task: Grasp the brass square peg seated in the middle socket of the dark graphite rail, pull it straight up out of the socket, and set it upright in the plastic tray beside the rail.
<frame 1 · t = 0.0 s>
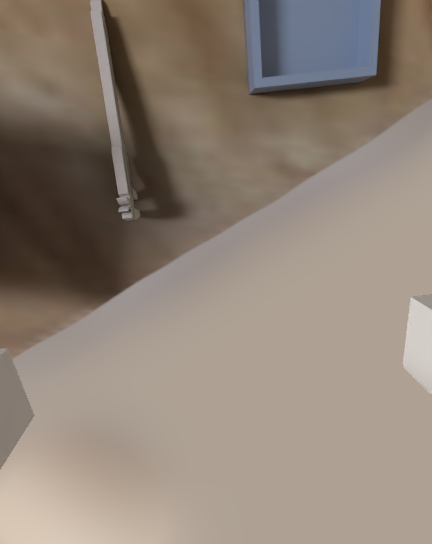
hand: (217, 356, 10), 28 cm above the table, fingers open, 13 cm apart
caliper: (119, 119, 33), on the table
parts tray: (304, 19, 31), on the table
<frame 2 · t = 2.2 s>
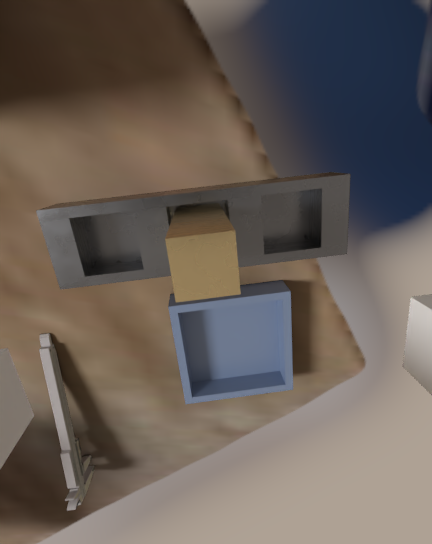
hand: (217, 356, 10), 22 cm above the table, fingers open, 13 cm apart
socket rail: (199, 224, 30), on the table
caliper: (71, 404, 37), on the table
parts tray: (231, 335, 35), on the table
brass peg: (200, 226, 29), point 1 cm above the table, touching socket rail
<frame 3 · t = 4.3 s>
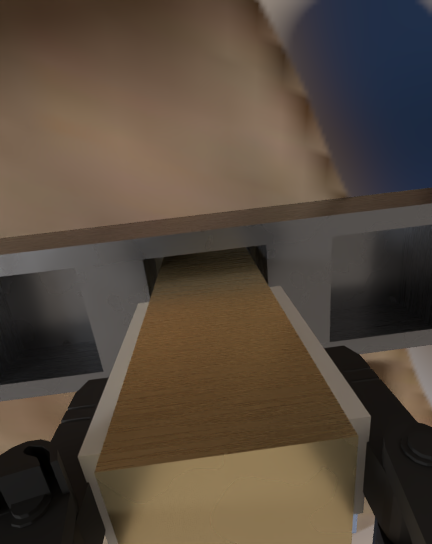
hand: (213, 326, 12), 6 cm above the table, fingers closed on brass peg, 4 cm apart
socket rail: (207, 276, 18), on the table
brass peg: (208, 282, 17), point 1 cm above the table, touching gripper, socket rail
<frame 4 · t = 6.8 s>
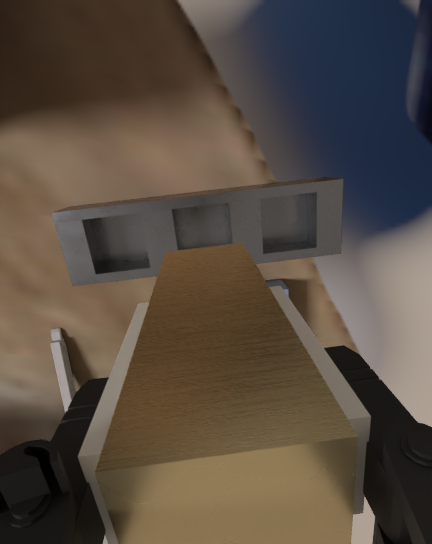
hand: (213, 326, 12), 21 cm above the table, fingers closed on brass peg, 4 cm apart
socket rail: (202, 225, 32), on the table
caliper: (80, 396, 39), on the table
brass peg: (208, 283, 17), point 17 cm above the table, touching gripper
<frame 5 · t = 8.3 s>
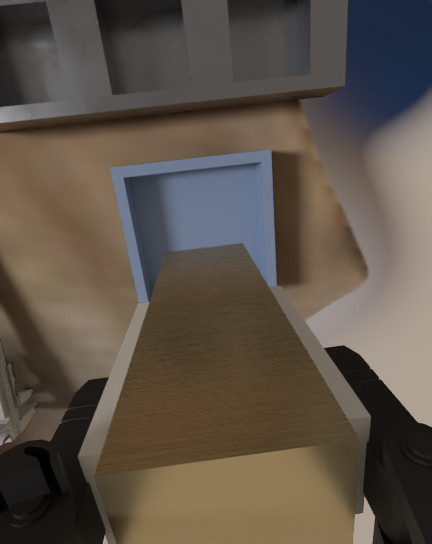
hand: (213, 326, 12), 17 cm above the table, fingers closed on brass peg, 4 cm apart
socket rail: (152, 62, 23), on the table
caliper: (4, 321, 30), on the table
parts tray: (200, 229, 28), on the table
brass peg: (208, 283, 17), point 12 cm above the table, touching gripper
when the fingers open (6 cm above the table, at t = 9.7 s): brass peg drops 1 cm, resting on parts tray.
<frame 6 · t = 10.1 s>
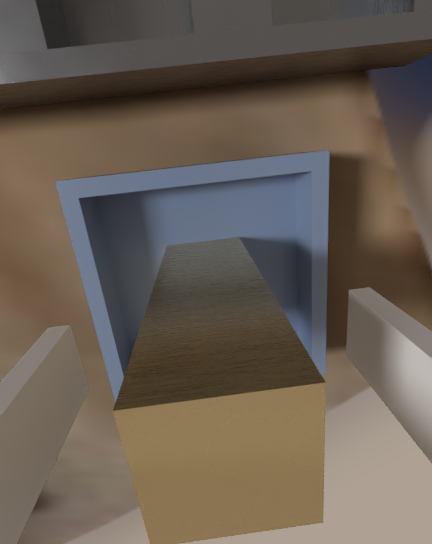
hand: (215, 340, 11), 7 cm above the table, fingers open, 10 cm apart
socket rail: (129, 5, 14), on the table
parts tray: (207, 271, 18), on the table
brass peg: (207, 275, 18), point 1 cm above the table, touching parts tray
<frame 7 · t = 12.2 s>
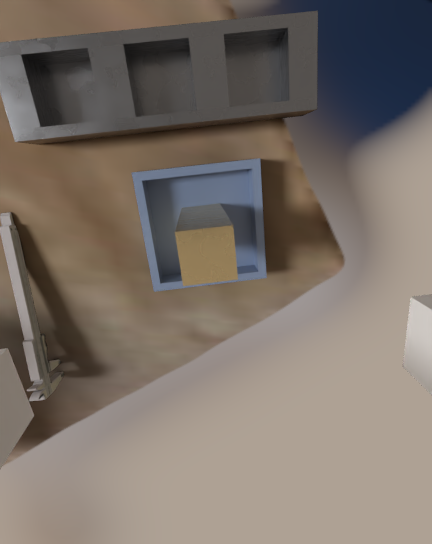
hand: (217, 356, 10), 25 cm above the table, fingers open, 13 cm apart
socket rail: (165, 89, 29), on the table
caliper: (37, 300, 36), on the table
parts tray: (203, 223, 34), on the table
brass peg: (203, 224, 33), point 1 cm above the table, touching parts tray
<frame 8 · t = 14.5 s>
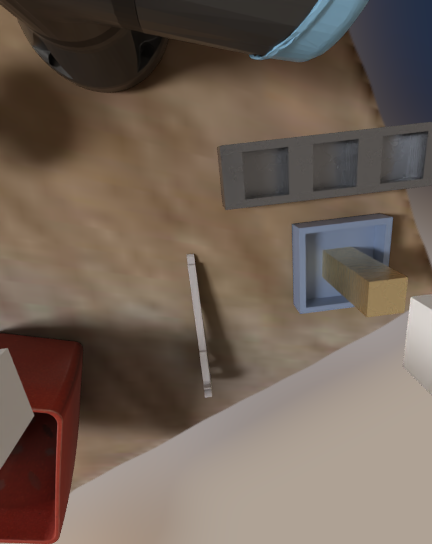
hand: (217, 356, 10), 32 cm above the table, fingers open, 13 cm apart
socket rail: (321, 165, 39), on the table
caliper: (199, 318, 46), on the table
plant pot: (40, 371, 47), on the table
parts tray: (334, 260, 44), on the table
brass peg: (336, 262, 43), point 1 cm above the table, touching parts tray
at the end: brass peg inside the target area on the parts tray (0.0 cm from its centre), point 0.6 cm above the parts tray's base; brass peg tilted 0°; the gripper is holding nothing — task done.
